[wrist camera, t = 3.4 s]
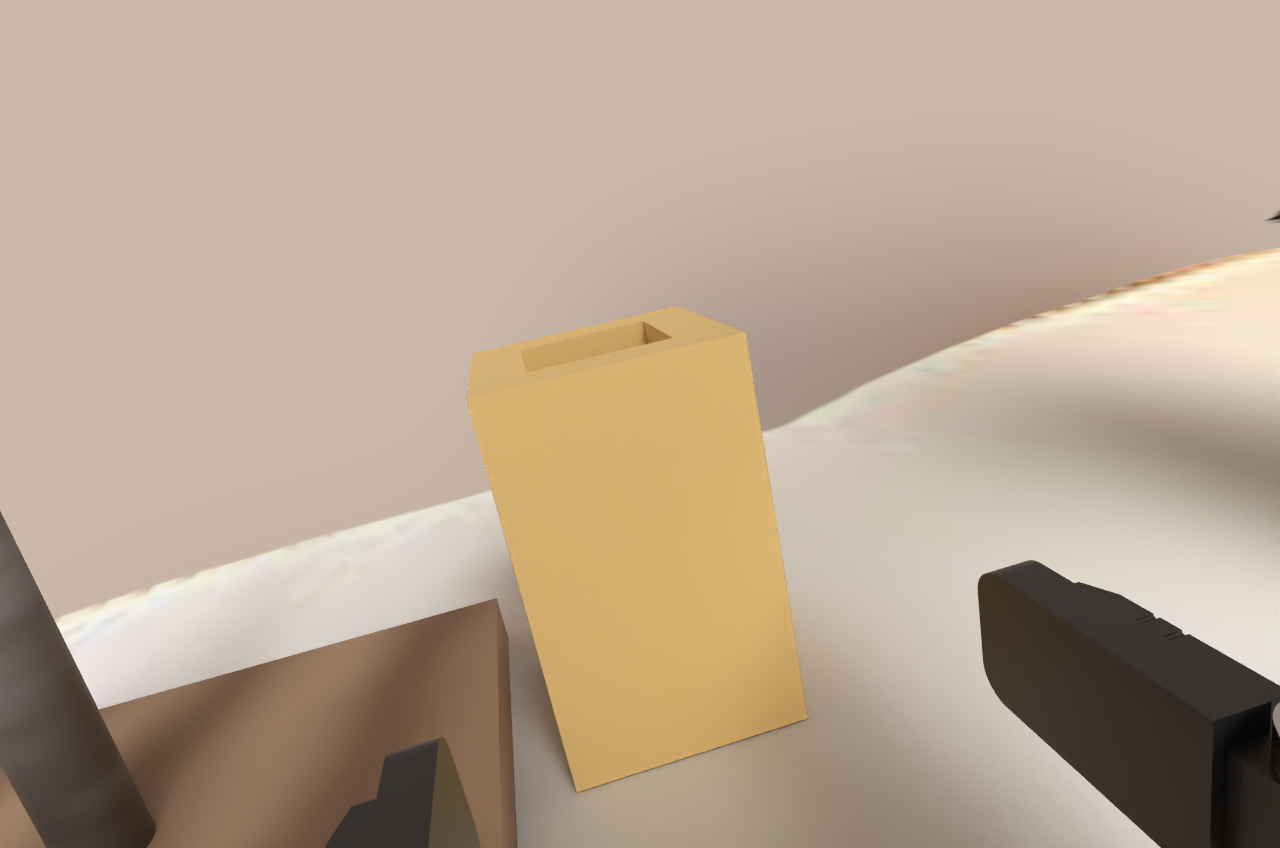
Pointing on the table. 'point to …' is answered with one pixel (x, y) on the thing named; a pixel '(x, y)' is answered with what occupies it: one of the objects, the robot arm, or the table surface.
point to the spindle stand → (244, 735)
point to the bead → (641, 536)
